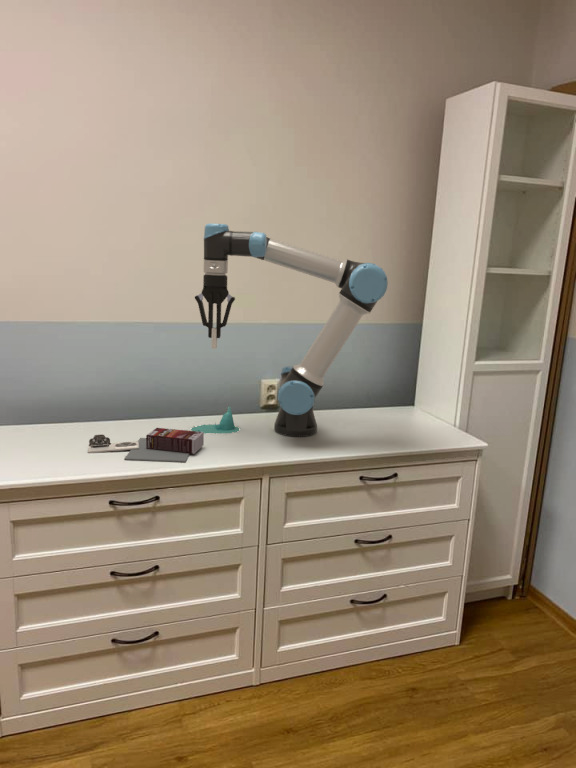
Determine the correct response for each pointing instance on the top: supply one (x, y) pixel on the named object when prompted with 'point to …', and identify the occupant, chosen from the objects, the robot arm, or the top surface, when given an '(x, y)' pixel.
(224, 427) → the diorama
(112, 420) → the top surface
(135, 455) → the mat
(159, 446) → the supplement box
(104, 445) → the car cutout
